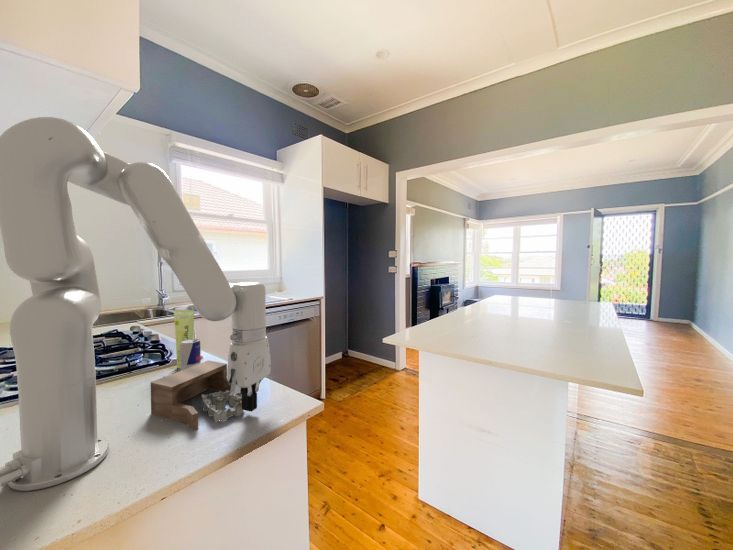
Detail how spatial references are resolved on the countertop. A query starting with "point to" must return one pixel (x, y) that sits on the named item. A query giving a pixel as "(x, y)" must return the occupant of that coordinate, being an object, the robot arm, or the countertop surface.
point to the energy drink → (189, 353)
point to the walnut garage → (187, 390)
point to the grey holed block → (222, 404)
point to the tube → (183, 328)
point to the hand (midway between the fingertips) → (249, 408)
